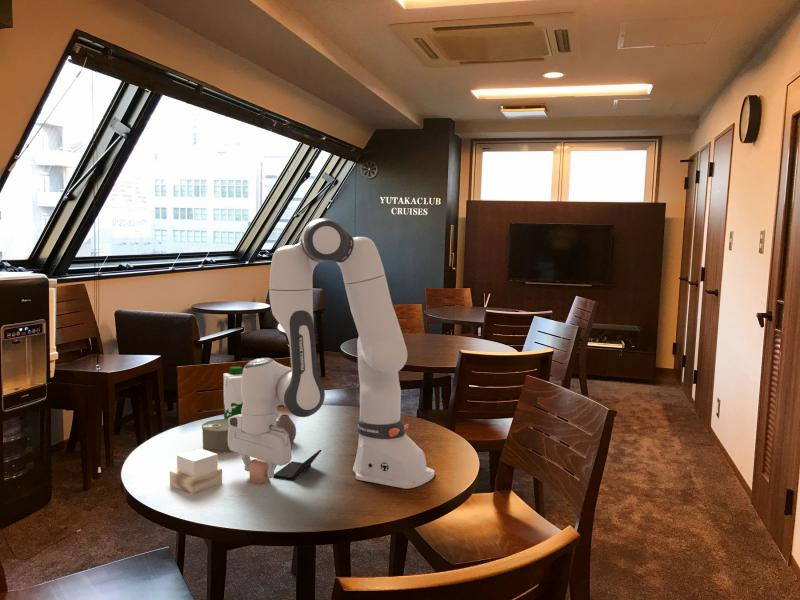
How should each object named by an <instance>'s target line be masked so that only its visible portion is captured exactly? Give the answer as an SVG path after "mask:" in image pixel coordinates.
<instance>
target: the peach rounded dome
mask: <svg viewBox="0 0 800 600" xmlns="http://www.w3.org/2000/svg"><path fill="white" fill-rule="evenodd" d="M268 468H269V466H268V462H266V461H263V460H260V459H257V458H254V459H251V461H250V462H249V470H250V472H249V483H250V484H252V485H263V484H267V483H270V478H267V477H265V471H266V470H268Z"/></svg>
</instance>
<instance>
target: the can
mask: <svg viewBox="0 0 800 600" xmlns="http://www.w3.org/2000/svg"><path fill="white" fill-rule="evenodd" d="M229 426H230V425H228V419H224V418H221V419H220V418H219V419H212V420H209V421H206V422H204V423H202V425H201V429H202V449H204V450H207V451H210V452H213V453H216V454H229V453H233V452H234V451H231V450H230V448H229V446H228V428H229ZM234 453H235V452H234Z"/></svg>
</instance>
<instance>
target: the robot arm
mask: <svg viewBox="0 0 800 600" xmlns="http://www.w3.org/2000/svg"><path fill="white" fill-rule="evenodd" d="M322 262H324V263H325V262H327V263H336V264H337V265H338V267H339V269H340V271H341V274H342V278H343V279H342V280H343V285H344V287H345V288H344V289H345V292H346V296H347V297H346V298H347V300H348V304H349V308H350V312H351V315H352V318H353V322H354V324H355V328H356V330H357V334H358V338H357V340H356V342H357V344H356V345H357V352H356V353H357V369H358V381H359V417H358V419H357V433H358V444H357V450H356V456H355V460H354V463H353V467H352V471H353V472H354V473H355V479H356V480H359V481H364V482H367V483H368V482H370V483H374V484H379V485H384V486H389V487H395V488H400V489H405V490H406V489H413V488H417V487H421V486H423V485H424V484H426V483H428V482H429V481H431V480H432V479H433V478H434V477H435V470H434V469H433V468H430V467H428V466H427V460H426V456H425V452H424V450H422V449H421V448H420V446H418V445H417V444H416V443H415V441H414V440H412V439H411V438H410V437H409V436H408V435H407V433H406V432H407V431H406V429H408V428H409V425H410V424H409V423H405V424H404V422H403V419H402V418H401V405H402V403H401V399H402V398H401V397H402V391H401V389H402V388H401V385H400V384H401V383H400V379H399V372H400V371H401V370H402V369H403V368H404V366H405V365H406V363H407V360H408V349H407V346H406V343H405V340H404V336H403V332H402V329H401V326H400V323H399V320H398V317H397V314H396V310H395V309H394V308H395V307H394V305H393V302H392V298H391V293H390V289H389V285H388V281H387V277H386V272H385V269H384V265H383V261H382V259H381V255H380V252H379V251H378V249H377V246H376V244H375V242H374V241H373V240H372V239H371V238H369V237H366V236H354V237H352V236H351V235H350V234H349V232H348V231H347V230H346V229H345V227H343V226H342V224H340V223H339V222H337V221H336V220H334V219H331V218H326V217H321V218H320V217H319V218H315V219H313V220H311V221H309V222H308V223H307V224H306V225H305V227H304V228H303V229H302V232H301V233H300V235H299V237H298V239H297V240H296V242H295V244H289V245H284V246H280V247H278V248H277V249H275V251H274V252H273V255H272V258H271V263H270V269H269V285H268V286H269V289H268V290H269V291H268V292H269V303H270V308H271V313H272V316H273V317H274V318H275V320H276V321H277V322H278V323H279V325H280V327H282V329H283V331H284V332H285V334H286V336H287V339H288V343H289V354H290V355H289V357H290V366H291V367H290V366H286V365H283V364H282V363H279V362H277V361H275V360H274V359H273V358H271V357H260V358H255V359H253V360H250V361H249V362H247V363H246V364H245V365H244V367H243V368H242V371H243V374H242V384H241V395H242V399H243V406H242V409H241V414H238V415H235V416H232V417H229V418H228V425H230V426H229V428H228V446H229V448H230V450H231V451H234V453H238V454H240V457H241V460H242V462H243V464H244V471H246V472H249V473H250V470H249V462H250V461H251V460H252V459H251V458H254V459H260V460H263V461H266V462H268V466H269V468H268V470H266V471H265V477H267V478H269V479H272V478H273V477H274V474H275V470H276V468H277V467H278V466H280V467H282V466H286V465H287V464H289V463H290V462H292V461H291V460H292V447H291V446H292V445H291V444H290V439H289V434H288V433H287V432H286V431H285V429H284V428H281V427H277V421H278V419H277V417H278V415H277V411H278V409H277V408H278V407H279V406H284V407H286V409H287V410H288V411H289V412H290V413H291V414H292V415H293V416H295V417H297V418H309V417H310V416H313V415H315V414H316V413H317V412H318V411H319V410H320V409H321V408H322V406H323V404H324V402H325V399H326V398H325V397H326V392H325V388H324V385H323V383H322V381H321V379H320V375H319V372H318V360H317V359H318V358H317V349H316V346H317V344H316V334H315V333H316V332H315V326H314V323H315V321H314V304H313V302H314V301H313V300H314V299H313V297H314V294H313V293H314V291H313V290H314V289H313V287H314V286H313V284H314V283H313V275H314V270H315V268H316V266H317V265H318V264H319V263H322ZM273 479H274V478H273Z"/></svg>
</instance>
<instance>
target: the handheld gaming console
mask: <svg viewBox="0 0 800 600" xmlns="http://www.w3.org/2000/svg"><path fill="white" fill-rule="evenodd" d="M321 452H322V449H319V450H317V452H315V453H314V454H312V455H311V456H310V457H308V458H307V459H306V460H305V461H304V462H300V461H290V462H289V463H287V464H285V465H284V467H282V468H280V470H279V471H277V472H274V477H273V479H279V480H286V481H287V480H288V481H295V480H296V479H297V478H298V477H300V476H301V475H302V474H303V473H305V471H307V470H308V469H310V468H311V467H312V463H313V462H314V461H315V459H317V457H318V455H319V454H321Z"/></svg>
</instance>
